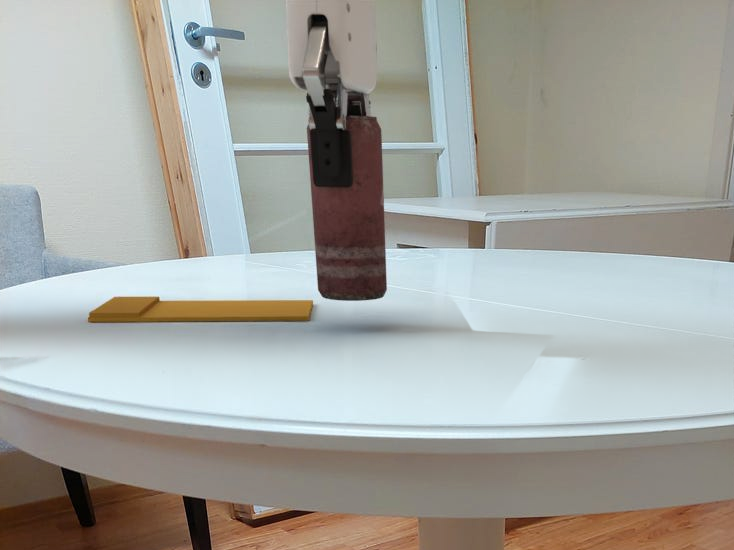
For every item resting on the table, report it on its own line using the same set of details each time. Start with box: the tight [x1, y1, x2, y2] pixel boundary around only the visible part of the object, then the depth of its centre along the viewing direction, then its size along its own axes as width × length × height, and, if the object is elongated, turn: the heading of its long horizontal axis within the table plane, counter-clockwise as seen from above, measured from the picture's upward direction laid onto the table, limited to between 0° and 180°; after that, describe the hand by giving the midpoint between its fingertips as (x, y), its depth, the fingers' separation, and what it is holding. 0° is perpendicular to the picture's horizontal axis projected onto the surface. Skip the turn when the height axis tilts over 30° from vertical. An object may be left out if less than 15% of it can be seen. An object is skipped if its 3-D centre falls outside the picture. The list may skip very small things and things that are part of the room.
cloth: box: [87, 296, 314, 323], centre depth 87 cm, size 20×10×1 cm, turn 97°
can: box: [306, 115, 388, 302], centre depth 76 cm, size 6×6×14 cm
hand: (345, 183), depth 75 cm, fingers closed on can, 6 cm apart
